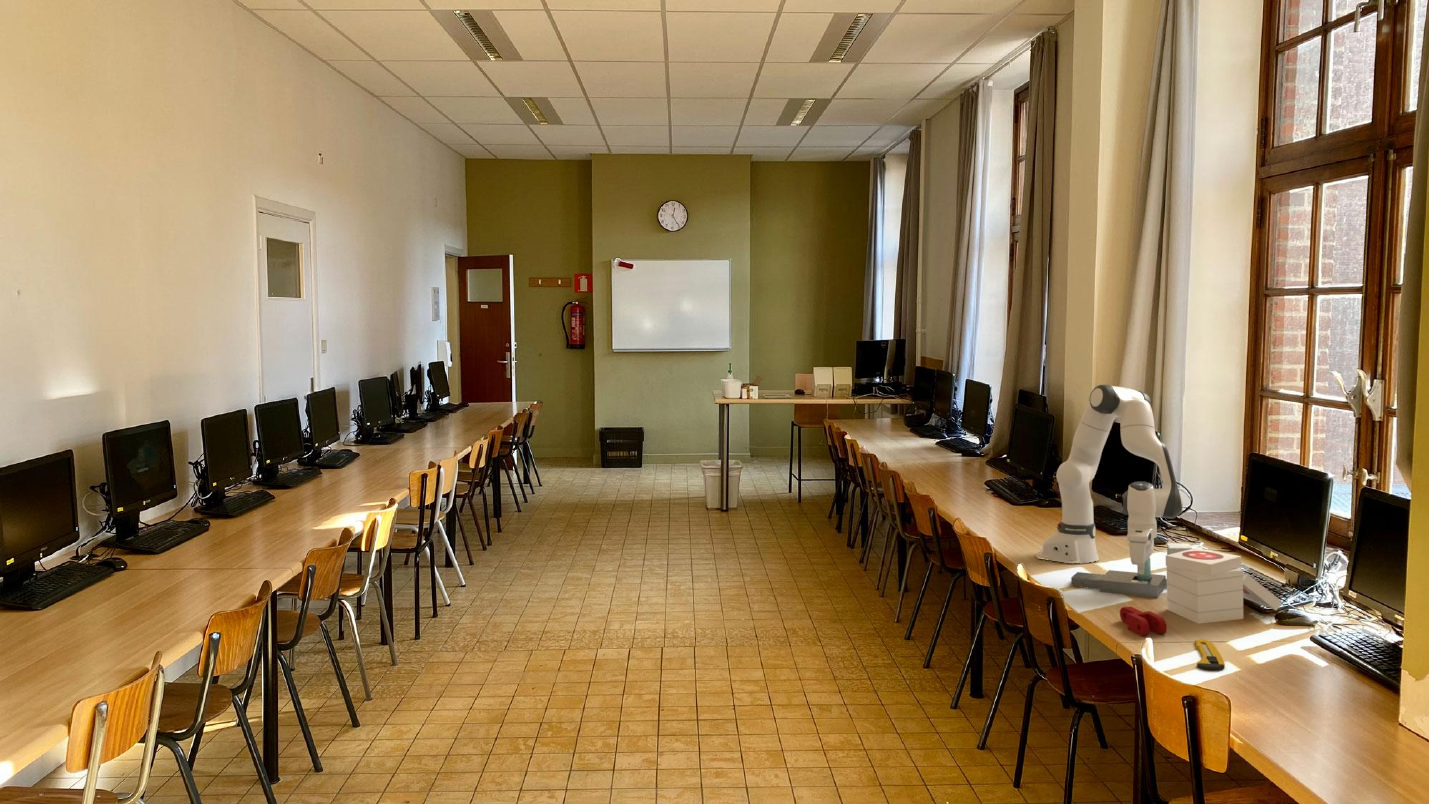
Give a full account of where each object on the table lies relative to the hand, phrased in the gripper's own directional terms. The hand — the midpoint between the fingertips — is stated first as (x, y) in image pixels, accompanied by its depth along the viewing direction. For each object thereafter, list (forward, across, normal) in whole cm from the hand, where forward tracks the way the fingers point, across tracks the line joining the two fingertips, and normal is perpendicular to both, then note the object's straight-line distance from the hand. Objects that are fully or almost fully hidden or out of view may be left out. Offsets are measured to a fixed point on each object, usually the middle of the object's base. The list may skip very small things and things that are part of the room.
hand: (1143, 572), depth 317 cm
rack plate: (+6, 0, -8) cm, 10 cm away
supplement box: (+7, -16, +9) cm, 19 cm away
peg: (+3, 0, 0) cm, 3 cm away
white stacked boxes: (+7, +15, +24) cm, 30 cm away
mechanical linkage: (+7, +41, +6) cm, 42 cm away
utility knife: (+7, +58, +26) cm, 64 cm away
